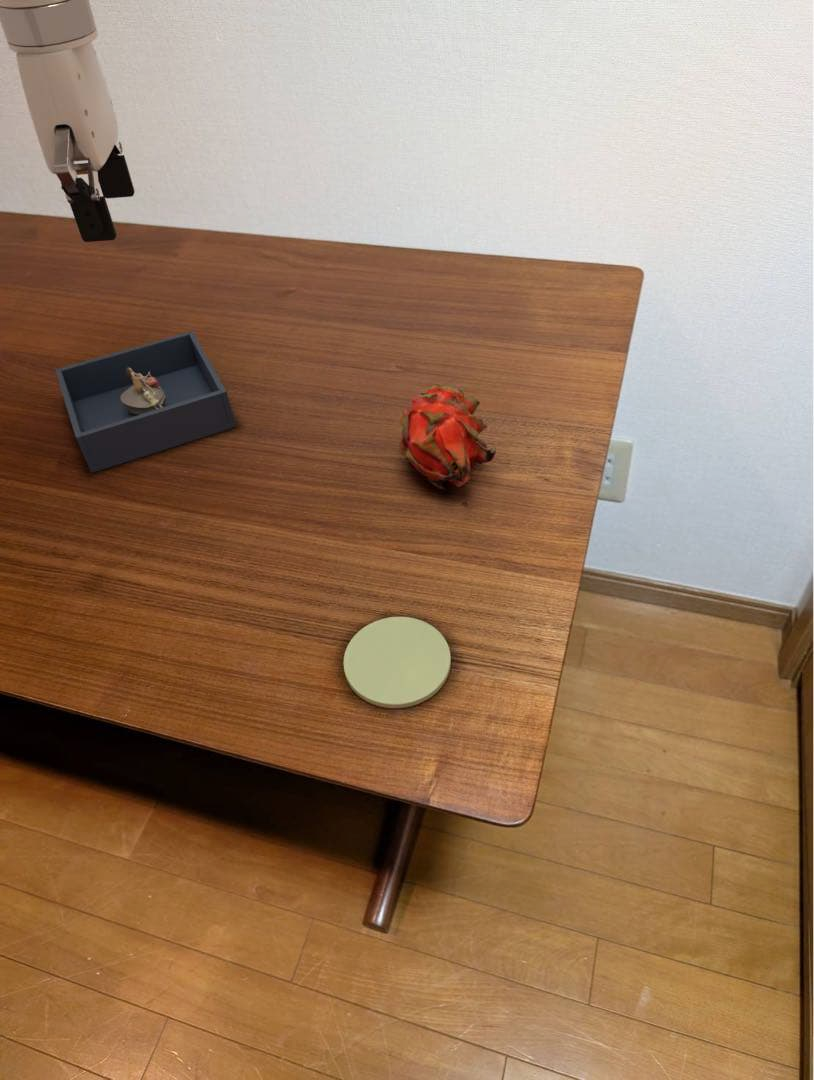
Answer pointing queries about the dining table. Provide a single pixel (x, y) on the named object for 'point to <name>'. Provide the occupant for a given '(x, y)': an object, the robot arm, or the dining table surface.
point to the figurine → (142, 394)
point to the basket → (127, 436)
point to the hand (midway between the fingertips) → (110, 217)
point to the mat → (397, 662)
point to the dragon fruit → (444, 435)
